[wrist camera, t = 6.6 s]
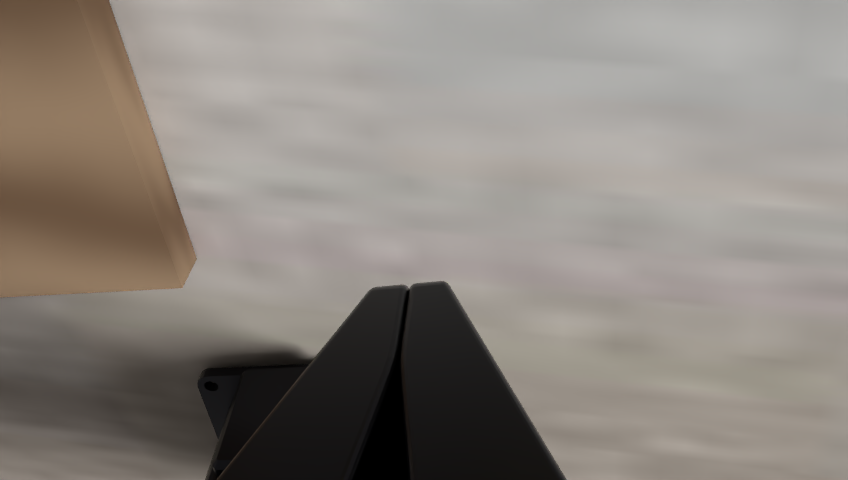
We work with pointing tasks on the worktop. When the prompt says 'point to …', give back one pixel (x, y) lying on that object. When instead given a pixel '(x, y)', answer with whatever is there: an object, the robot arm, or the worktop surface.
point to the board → (80, 160)
